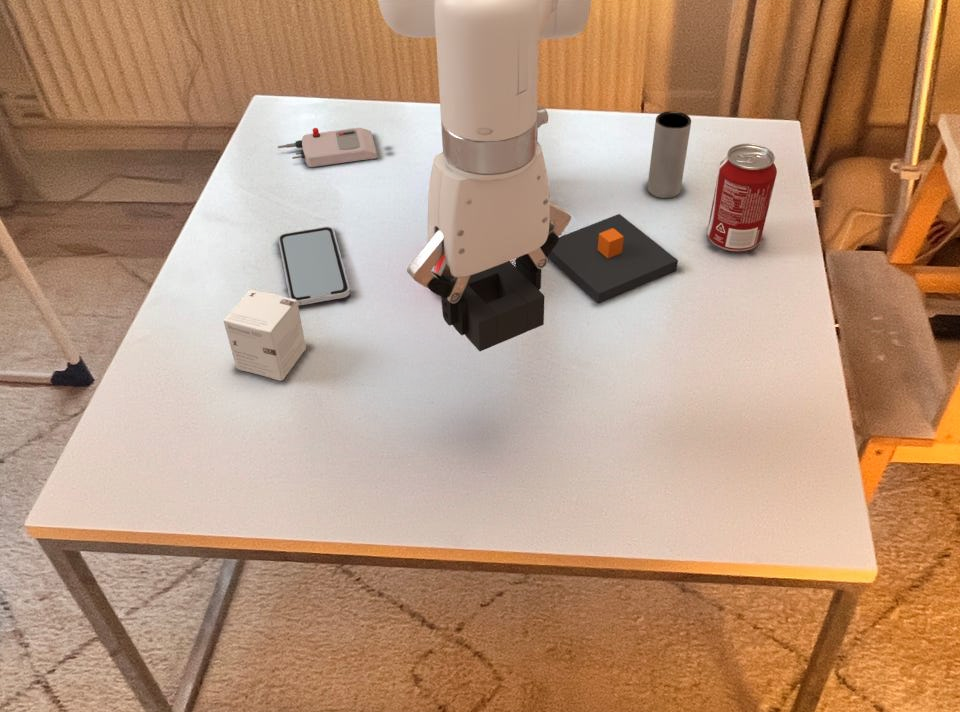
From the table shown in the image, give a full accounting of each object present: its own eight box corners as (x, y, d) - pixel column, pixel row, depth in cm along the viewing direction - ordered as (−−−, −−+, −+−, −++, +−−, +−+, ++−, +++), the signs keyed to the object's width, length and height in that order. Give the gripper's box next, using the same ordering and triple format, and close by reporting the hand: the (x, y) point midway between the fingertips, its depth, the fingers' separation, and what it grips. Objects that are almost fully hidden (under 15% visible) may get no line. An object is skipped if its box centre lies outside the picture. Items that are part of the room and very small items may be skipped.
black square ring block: (442, 309, 88) (440, 280, 86) (504, 284, 91) (504, 255, 88) (479, 352, 84) (478, 322, 82) (544, 324, 86) (545, 295, 84)
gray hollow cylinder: (687, 191, 127) (698, 121, 119) (662, 202, 125) (672, 132, 117) (665, 176, 129) (674, 107, 121) (640, 187, 127) (648, 117, 120)
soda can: (759, 258, 116) (780, 173, 107) (705, 252, 117) (721, 168, 108) (759, 227, 121) (779, 143, 112) (707, 222, 122) (722, 138, 113)
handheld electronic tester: (390, 157, 134) (388, 138, 132) (281, 172, 132) (278, 153, 130) (383, 134, 139) (381, 115, 137) (278, 148, 137) (274, 129, 135)
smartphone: (333, 225, 122) (351, 292, 112) (334, 231, 123) (352, 298, 112) (276, 234, 121) (290, 302, 111) (278, 240, 121) (291, 309, 111)
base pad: (542, 253, 118) (543, 226, 115) (618, 223, 122) (621, 196, 119) (598, 303, 111) (600, 276, 108) (676, 270, 115) (681, 243, 112)
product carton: (235, 370, 105) (220, 320, 99) (262, 336, 108) (249, 286, 103) (283, 382, 103) (270, 332, 98) (308, 348, 107) (297, 297, 101)
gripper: (554, 89, 79) (547, 260, 92) (370, 149, 73) (392, 321, 86) (606, 128, 74) (591, 301, 88) (414, 195, 69) (430, 369, 82)
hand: (492, 310), depth 87 cm, fingers closed on black square ring block, 7 cm apart
